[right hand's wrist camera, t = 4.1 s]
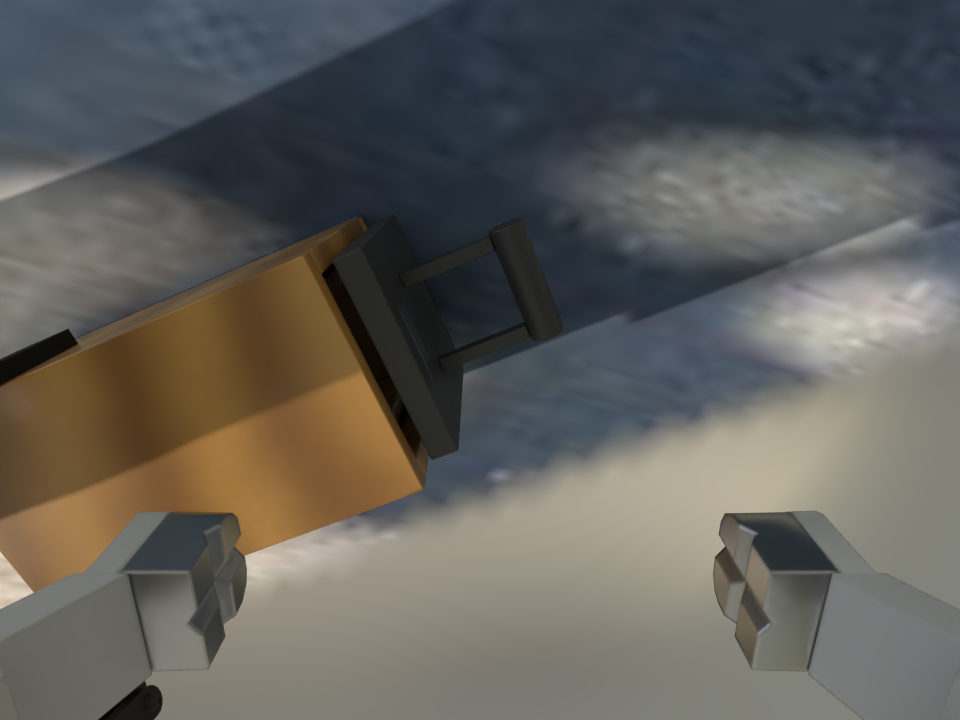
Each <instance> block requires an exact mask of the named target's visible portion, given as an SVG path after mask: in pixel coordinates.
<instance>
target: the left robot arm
mask: <svg viewBox="0 0 960 720" xmlns="http://www.w3.org/2000/svg"><path fill="white" fill-rule="evenodd" d="M77 344H78V343H77V341H76V340H75V338H74V337H73V335H72V334H71V332H70V331H69V329H67V330H65V331H62V332H60V333H58V334H55V335H53V336H51V337H49V338H46V339H44V340H42V341H39V342H37V343H35V344H33V345H30V346H28V347H26V348H23V349H21V350H19V351H17V352H15V353H13V354H10V355H8V356H6V357H4V358H2V359H0V385H2V384H4V383H5V382H7V381H9V380H11V379H13V378H15V377H17V376H19V375H20V374H22V373H24V372H26V371H28V370H30V369H32V368H34V367H35V366H37V365H39V364H41V363H43V362H45V361H47V360H49V359H50V358H52V357H54V356H56V355H58V354H60V353H62V352H64V351H65V350H67V349H69V348H71V347H73V346H75V345H77ZM161 707H162V694H161V692H160V690H159V689H158V687H156V686H154V685H149V686H146V683H145V681H144V682H143V683H141V684H140V685H139V686H138V687H137V688H135V689H134V690H133V691H132V692H131V693H129V694H128V695H127V696H126V697H125V698H123V699H122V700H121V701H120V702H119V703H117V704H116V705H115V706H114V707H113V708H111V709H110V710H109V711H108V712H107V713H105V714H104V715H103V716H102V717H101V718H99V719H98V720H154V719H155V718H156V717H157V715H158V714H159V712H160V711H161Z"/></svg>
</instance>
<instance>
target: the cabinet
mask: <svg viewBox="0 0 960 720" xmlns="http://www.w3.org/2000/svg"><path fill="white" fill-rule="evenodd" d="M366 229H367V226H366V224H365V222H364V220H363V218H362V215H361V214H359V215H357V216H355V217H352V218H350V219H348V220H345V221H343V222H341V223H339V224H336V225H334V226H332V227H329V228H327V229H325V230H322V231H320V232H318V233H316V234H313V235H311V236H309V237H306V238H304V239H302V240H300V241H297V242H295V243H293V244H290V245H288V246H286V247H283V248H281V249H279V250H277V251H274V252H272V253H270V254H267V255H265V256H263V257H260V258H258V259H256V260H254V261H251V262H249V263H247V264H244V265H242V266H240V267H238V268H235V269H233V270H231V271H228V272H226V273H224V274H221V275H219V276H217V277H215V278H212V279H210V280H208V281H205V282H203V283H201V284H198V285H196V286H194V287H192V288H189V289H187V290H185V291H182V292H180V293H178V294H176V295H173V296H171V297H169V298H166V299H164V300H162V301H159V302H157V303H155V304H153V305H150V306H148V307H146V308H143V309H141V310H139V311H136V312H134V313H132V314H130V315H127V316H125V317H123V318H120V319H118V320H116V321H114V322H111V323H109V324H107V325H104V326H102V327H100V328H97V329H95V330H93V331H91V332H88V333H86V334H84V335H81V336H79V337H77V338H75V340H76V341H77V343H78V344H77V345H75V346H73V347H71V348H69V349H67V350H65V351H64V352H62V353H60V354H58V355H56V356H54V357H52V358H50V359H49V360H47V361H45V362H43V363H41V364H39V365H37V366H35V367H34V368H32V369H30V370H28V371H26V372H24V373H22V374H20V375H19V376H17V377H15V378H13V379H11V380H9V381H7V382H5V383H4V384H2V385H0V552H1V553H2V554H3V556H4V557H5V558H6V559H7V561H8V562H9V563H10V564H11V565H12V567H13V568H14V569H15V570H16V571H17V573H18V574H19V575H20V576H21V578H22V579H23V580H24V581H25V582H26V584H27V585H28V586H29V587H30V588H31V590H32V591H33V592H34V593H35V592H37V591H39V590H41V589H43V588H45V587H47V586H49V585H51V584H53V583H55V582H57V581H59V580H61V579H63V578H65V577H67V576H69V575H71V574H73V573H84V572H85V571H86V570H87V569H88V568H89V566H90V565H91V564H92V563H93V562H94V561H95V560H96V559H97V558H98V557H99V555H100V554H101V553H102V552H103V551H104V550H105V549H106V548H107V547H108V545H109V544H110V543H111V542H112V541H113V540H114V539H115V538H116V537H117V535H118V534H119V533H120V532H121V531H122V530H123V529H124V528H125V527H126V526H127V524H128V523H129V522H130V521H131V520H132V519H133V518H134V517H135V516H136V515H137V514H138V513H141V512H145V511H172V512H175V511H183V512H230V513H234V514H235V515H236V516H237V517H238V521H239V526H240V531H241V536H240V538H239V539H238V541H237V543H236V544H235V547H236V548H237V549H238V550H239V551H240V552H241V554H242V555H243V556H245V555H247V554H250V553H253V552H256V551H258V550H261V549H264V548H266V547H269V546H272V545H275V544H277V543H280V542H283V541H286V540H288V539H291V538H294V537H297V536H299V535H302V534H305V533H308V532H310V531H313V530H316V529H319V528H321V527H324V526H327V525H329V524H332V523H335V522H338V521H340V520H343V519H346V518H349V517H351V516H354V515H357V514H360V513H362V512H365V511H368V510H371V509H373V508H376V507H379V506H381V505H384V504H387V503H390V502H392V501H395V500H398V499H401V498H403V497H406V496H409V495H412V494H414V493H417V492H420V491H423V490H424V485H425V479H426V478H425V477H426V471H427V464H428V458H429V454H428V452H427V450H426V448H425V446H424V444H423V442H422V440H421V438H420V436H419V434H418V432H417V430H416V428H415V426H414V424H413V422H412V420H411V418H410V416H409V414H408V412H407V410H406V408H405V406H404V404H403V408H402V412H401V415H400V419H399V423H397V421H396V419H395V417H394V415H393V413H392V411H391V409H390V407H389V405H388V403H387V401H386V399H385V397H384V395H383V393H382V391H381V389H380V388H379V386H378V384H377V382H376V380H375V378H374V376H373V374H372V372H371V370H370V368H369V366H368V364H367V362H366V360H365V358H364V356H363V354H362V352H361V350H360V348H359V346H358V344H357V343H356V341H355V339H354V337H353V335H352V333H351V331H350V329H349V327H348V325H347V323H346V321H345V319H344V317H343V315H342V313H341V311H340V309H339V307H338V305H337V303H336V301H335V299H334V298H333V296H332V294H331V292H330V290H329V288H328V286H327V284H326V282H325V280H324V278H323V276H322V273H323V272H324V271H325V270H326V269H328V268H329V267H330V266H331V265H332V264H333V263H332V260H333V259H334V258H335V257H336V256H337V255H338V254H339V253H340V252H342V251H343V250H344V249H345V248H346V247H347V246H348V245H349V244H351V243H352V242H353V241H354V240H355V239H356V238H357V237H359V236H360V235H361V234H362V233H363V232H364V231H365V230H366Z"/></svg>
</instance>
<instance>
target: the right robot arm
mask: <svg viewBox="0 0 960 720" xmlns="http://www.w3.org/2000/svg"><path fill="white" fill-rule="evenodd" d="M240 536H241V531H240V526H239V521H238V517H237V516H236V515H235V514H234V513H230V512H183V511H175V512H172V511H145V512H141V513H138V514H137V515H136V516H135V517H134V518H133V519H132V520H131V521H130V522H129V523H128V524H127V526H126V527H125V528H124V529H123V530H122V531H121V532H120V533H119V534H118V535H117V537H116V538H115V539H114V540H113V541H112V542H111V543H110V544H109V545H108V547H107V548H106V549H105V550H104V551H103V552H102V553H101V554H100V555H99V557H98V558H97V559H96V560H95V561H94V562H93V563H92V564H91V565H90V566H89V568H88V569H87V570H86V571H85V572H84V573H73V574H71V575H69V576H67V577H65V578H63V579H61V580H59V581H57V582H55V583H53V584H51V585H49V586H47V587H45V588H43V589H41V590H39V591H37V592H35V593H33V594H31V595H29V596H27V597H25V598H23V599H21V600H19V601H17V602H15V603H13V604H10V605H8V606H6V607H4V608H2V609H0V720H98V719H99V718H101V717H102V716H103V715H104V714H105V713H107V712H108V711H109V710H110V709H111V708H113V707H114V706H115V705H116V704H117V703H119V702H120V701H121V700H122V699H123V698H125V697H126V696H127V695H128V694H129V693H131V692H132V691H133V690H134V689H135V688H137V687H138V686H139V685H140V684H141V683H143V682H144V681H145V680H146V679H147V678H149V677H150V676H151V675H152V672H157V671H191V670H208V669H209V667H210V665H211V663H212V662H213V660H214V658H215V656H216V654H217V652H218V650H219V648H220V646H221V644H222V642H223V640H224V638H225V632H224V626H223V624H224V623H226V622H227V621H228V620H230V619H231V618H233V617H234V616H235V615H236V614H237V612H238V610H239V608H240V606H241V604H242V601H243V597H244V592H245V588H246V578H247V568H246V562H245V557H244V556H243V555H242V554H241V552H240V551H239V550H238V549H237V548H236V547H235V544H236V543H237V541H238V539H239V538H240ZM719 536H720V538H721V539H722V541H723V543H724V544H725V547H724V548H723V549H722V550H721V552H719V554H718V555H717V556H716V557H715V562H714V571H713V578H714V589H715V594H716V597H717V600H718V604H719V606H720V608H721V610H722V612H723V614H724V616H726V617H727V618H729V619H730V620H732V621H733V622H734V623H736V624H737V626H736V632H735V638H736V640H737V642H738V644H739V646H740V648H741V650H742V652H743V654H744V655H745V657H746V659H747V661H748V663H749V665H750V667H751V669H752V670H767V671H803V672H808V675H809V676H811V677H812V678H813V679H814V680H815V681H817V682H818V683H819V684H820V685H821V686H823V687H824V688H825V689H826V690H827V691H829V692H830V693H831V694H832V695H833V696H835V697H836V698H837V699H838V700H839V701H841V702H842V703H843V704H844V705H845V706H846V707H848V708H849V709H850V710H851V711H852V712H854V713H855V714H856V715H857V716H858V717H860V718H861V719H862V720H960V610H959V609H957V608H955V607H953V606H951V605H949V604H947V603H945V602H943V601H941V600H939V599H937V598H935V597H933V596H931V595H929V594H927V593H925V592H923V591H921V590H919V589H917V588H915V587H913V586H911V585H909V584H907V583H905V582H903V581H901V580H899V579H897V578H895V577H893V576H891V575H889V574H885V573H876V572H875V571H874V570H873V569H872V568H871V566H870V565H869V564H868V563H867V562H866V561H865V560H864V559H863V558H862V557H861V555H860V554H859V553H858V552H857V551H856V550H855V549H854V548H853V547H852V545H851V544H850V543H849V542H848V541H847V540H846V539H845V538H844V537H843V536H842V534H841V533H840V532H839V531H838V530H837V529H836V528H835V527H834V526H833V524H832V523H831V522H830V521H829V520H828V519H827V518H826V517H825V516H824V515H823V514H822V513H819V512H817V511H795V512H776V513H725V514H724V516H723V518H722V520H721V524H720V530H719Z"/></svg>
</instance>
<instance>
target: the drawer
mask: <svg viewBox="0 0 960 720" xmlns="http://www.w3.org/2000/svg"><path fill="white" fill-rule="evenodd" d="M495 250H496V253H497V255H498V258H499V260H500V263H501V265H502V268H503V270H504V272H505V275H506V277H507V280H508V282H509V285H510V287H511V290H512V292H513V295H514V297H515V300H516V302H517V304H518V307H519V309H520V312H521V314H522V317H523V319H524V323H521V324H519V325H516V326H514V327H511V328H509V329H506V330H504V331H501V332H499V333H496V334H493V335H491V336H488V337H486V338H483V339H481V340H478V341H476V342H473V343H471V344H468V345H466V346H463V347H461V348H458V349H455V348H454V346H453V344H452V341H451V339H450V337H449V335H448V333H447V330H446V328H445V326H444V324H443V322H442V319H441V317H440V315H439V313H438V311H437V308H436V306H435V304H434V302H433V300H432V297H431V295H430V293H429V291H428V289H427V286H426V284H425V282H424V280H426V279H429V278H431V277H434V276H436V275H438V274H441V273H443V272H446V271H448V270H451V269H453V268H455V267H458V266H460V265H463V264H465V263H467V262H470V261H472V260H475V259H477V258H480V257H482V256H484V255H487V254H489V253H492V252H494V251H495ZM332 263H333V264H332V265H331V266H330V267H329V268H328V269H326V270H325V271H324V272H323V273H322V276H323V278H324V280H325V282H326V284H327V286H328V288H329V290H330V292H331V294H332V296H333V298H334V299H335V301H336V303H337V305H338V307H339V309H340V311H341V313H342V315H343V317H344V319H345V321H346V323H347V325H348V327H349V329H350V331H351V333H352V335H353V337H354V339H355V341H356V343H357V344H358V346H359V348H360V350H361V352H362V354H363V356H364V358H365V360H366V362H367V364H368V366H369V368H370V370H371V372H372V374H373V376H374V378H375V380H376V382H377V384H378V386H379V388H380V389H381V391H382V393H383V395H384V397H385V399H386V401H387V403H388V405H389V407H390V409H391V411H392V413H393V415H394V417H395V419H396V421H397V423H399V419H400V415H401V412H402V408H403V404H404V406H405V408H406V410H407V412H408V414H409V416H410V418H411V420H412V422H413V424H414V426H415V428H416V430H417V432H418V434H419V436H420V438H421V440H422V442H423V444H424V446H425V448H426V450H427V452H428V454H429V456H430V458H431V459H432V460H434V459H436V458H439V457H442V456H444V455H447V454H450V453H453V452H455V451H457V450H458V447H459V431H460V415H461V400H462V384H463V366H462V364H464V363H467V362H469V361H472V360H474V359H477V358H480V357H482V356H485V355H487V354H490V353H492V352H495V351H498V350H500V349H503V348H505V347H508V346H510V345H513V344H515V343H518V342H521V341H523V340H526V339H528V338H530V336H531V339H532V340H533V341H542V340H546V339H549V338H552V337H554V336H555V335H557V334H559V333H560V332H561V331H562V330H563V324H562V321H561V319H560V316H559V313H558V311H557V308H556V306H555V303H554V300H553V298H552V295H551V293H550V290H549V287H548V285H547V282H546V280H545V277H544V274H543V272H542V269H541V267H540V264H539V261H538V259H537V256H536V254H535V251H534V248H533V246H532V243H531V241H530V238H529V235H528V233H527V230H526V228H525V225H524V223H523V220H522V219H521V218H517V219H513V220H510V221H507V222H505V223H502V224H500V225H498V226H496V227H494V228H493V229H491V230H490V231H489V236H488V237H485V238H483V239H480V240H478V241H476V242H473V243H471V244H468V245H466V246H464V247H461V248H459V249H457V250H454V251H452V252H449V253H447V254H445V255H442V256H440V257H437V258H435V259H433V260H430V261H428V262H425V263H423V264H421V265H418V266H417V264H416V262H415V260H414V258H413V256H412V253H411V251H410V249H409V247H408V245H407V242H406V240H405V238H404V236H403V234H402V231H401V229H400V227H399V225H398V223H397V220H396V218H395V216H394V215H392V216H389V217H387V218H385V219H383V220H380V221H378V222H376V223H373V224H372V225H371V226H370V227H369V228H368V229H366V230H365V231H364V232H363V233H362V234H361V235H360V236H359V237H357V238H356V239H355V240H354V241H353V242H352V243H351V244H349V245H348V246H347V247H346V248H345V249H344V250H343V251H342V252H340V253H339V254H338V255H337V256H336V257H335V258H334V259H333V260H332Z"/></svg>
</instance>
